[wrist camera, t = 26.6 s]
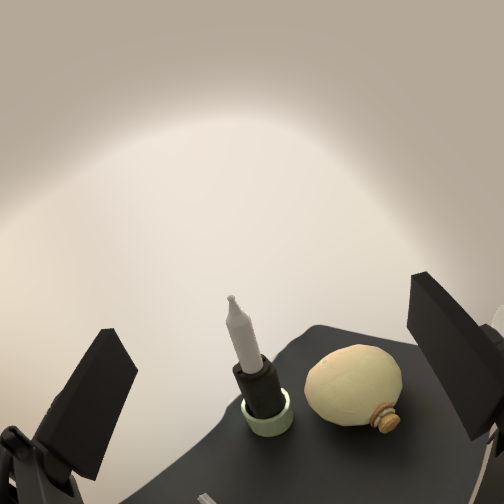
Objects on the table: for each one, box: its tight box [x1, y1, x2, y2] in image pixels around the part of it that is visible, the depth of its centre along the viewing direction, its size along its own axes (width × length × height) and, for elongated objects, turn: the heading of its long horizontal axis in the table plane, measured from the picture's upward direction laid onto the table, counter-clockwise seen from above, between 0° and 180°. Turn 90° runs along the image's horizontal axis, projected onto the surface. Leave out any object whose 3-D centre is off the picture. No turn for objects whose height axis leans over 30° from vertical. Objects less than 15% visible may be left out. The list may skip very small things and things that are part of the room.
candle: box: [226, 295, 285, 420], centre depth 36 cm, size 5×5×25 cm
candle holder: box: [241, 388, 293, 437], centre depth 40 cm, size 8×8×5 cm
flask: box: [304, 345, 402, 434], centre depth 37 cm, size 9×16×18 cm
